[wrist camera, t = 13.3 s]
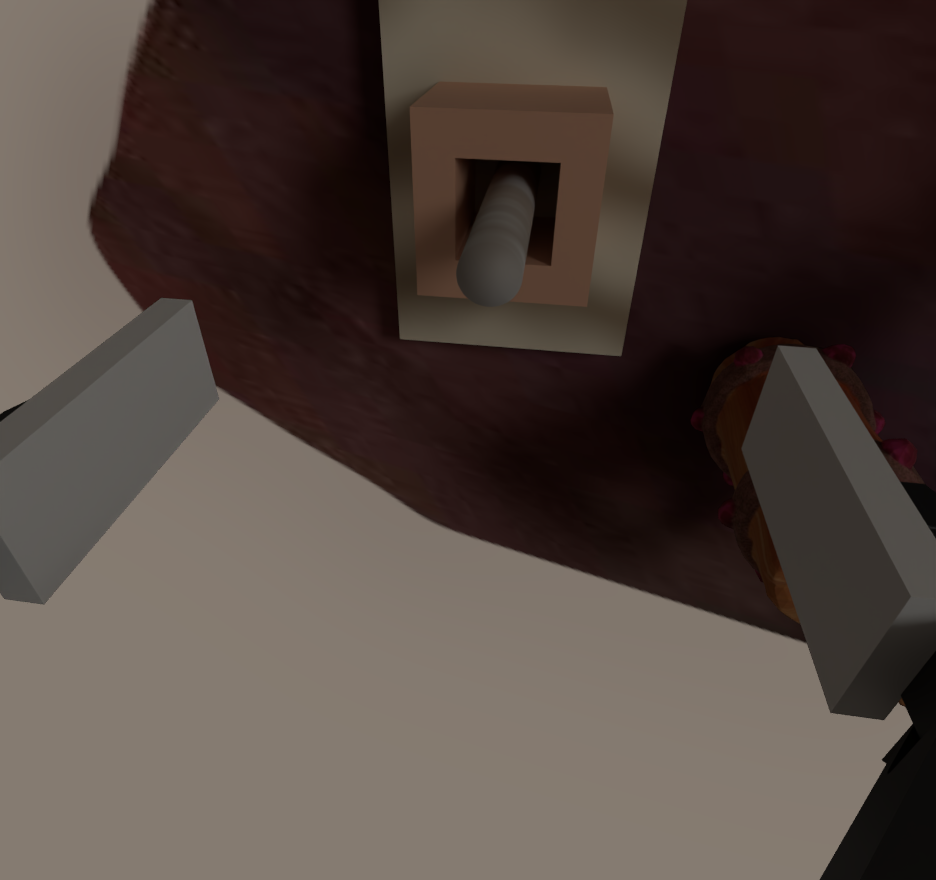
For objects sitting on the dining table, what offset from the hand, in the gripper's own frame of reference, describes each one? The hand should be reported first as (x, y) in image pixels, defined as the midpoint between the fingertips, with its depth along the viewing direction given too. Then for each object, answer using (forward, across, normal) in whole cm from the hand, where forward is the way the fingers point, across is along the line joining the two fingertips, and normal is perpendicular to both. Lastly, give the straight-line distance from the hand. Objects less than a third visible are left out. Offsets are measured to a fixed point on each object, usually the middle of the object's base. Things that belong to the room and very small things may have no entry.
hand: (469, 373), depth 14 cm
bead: (+17, 0, 0) cm, 17 cm away
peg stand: (+19, 0, 0) cm, 19 cm away
